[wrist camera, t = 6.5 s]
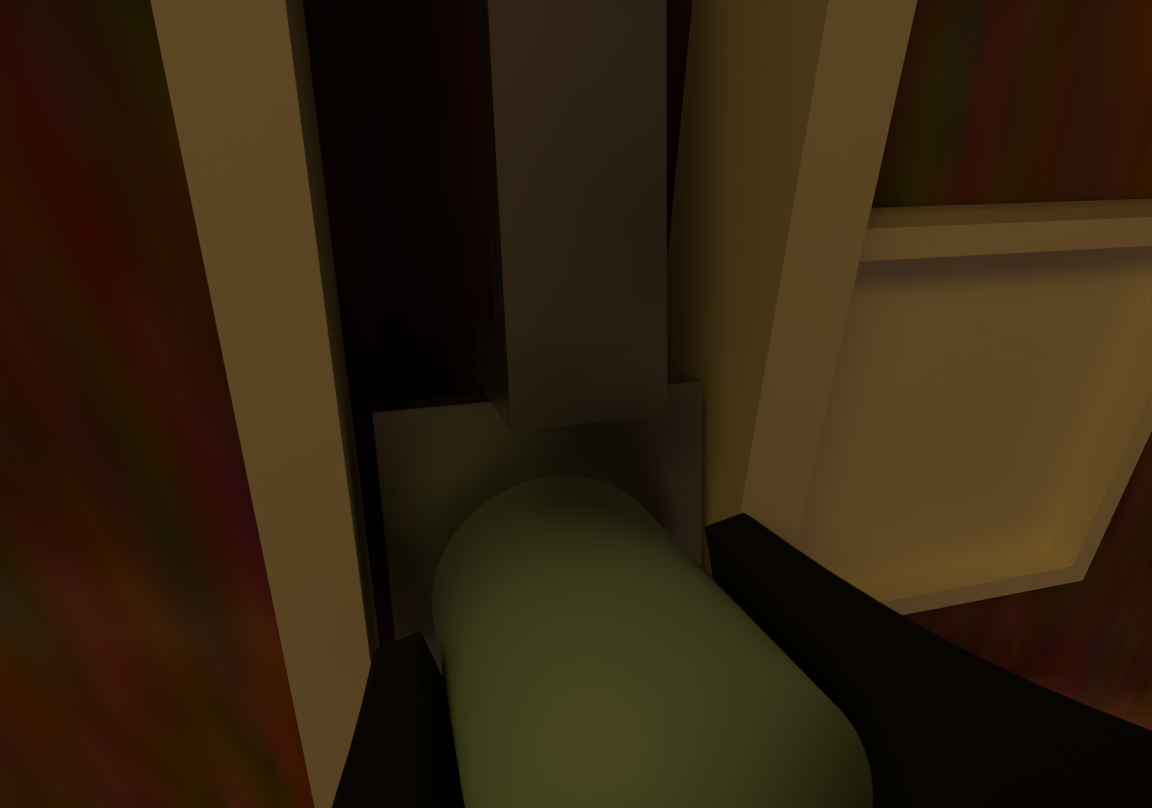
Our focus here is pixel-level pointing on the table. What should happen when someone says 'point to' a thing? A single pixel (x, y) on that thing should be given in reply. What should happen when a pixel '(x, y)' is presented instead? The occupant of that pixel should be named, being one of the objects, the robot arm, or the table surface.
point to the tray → (984, 399)
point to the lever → (556, 297)
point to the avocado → (620, 669)
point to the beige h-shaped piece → (694, 285)
